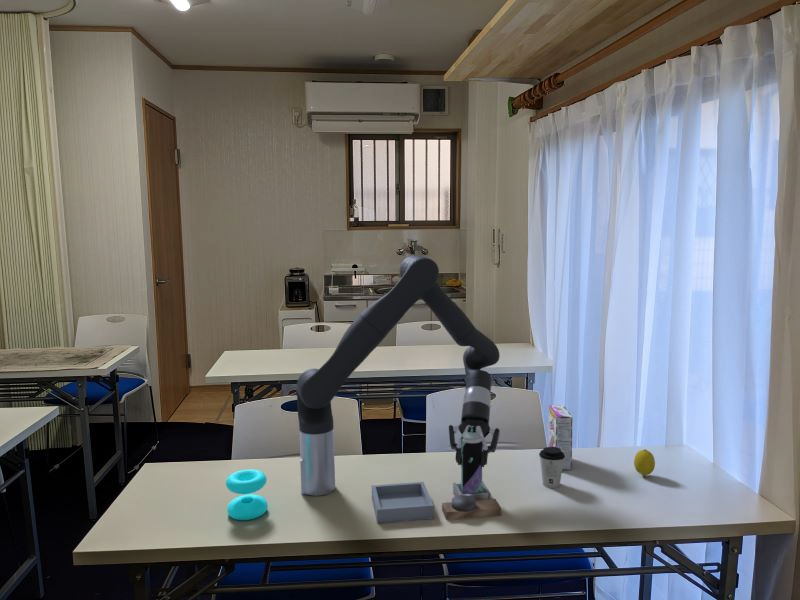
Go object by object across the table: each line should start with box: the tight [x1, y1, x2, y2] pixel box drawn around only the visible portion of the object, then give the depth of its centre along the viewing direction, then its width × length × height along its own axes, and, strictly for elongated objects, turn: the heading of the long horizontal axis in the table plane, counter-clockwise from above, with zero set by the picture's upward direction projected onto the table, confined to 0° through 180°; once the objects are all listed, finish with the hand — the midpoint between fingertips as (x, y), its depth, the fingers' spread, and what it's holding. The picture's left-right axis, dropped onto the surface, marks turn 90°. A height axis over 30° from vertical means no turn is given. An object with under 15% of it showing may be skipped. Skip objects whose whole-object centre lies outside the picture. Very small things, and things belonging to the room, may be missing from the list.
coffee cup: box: [538, 446, 565, 489], centre depth 174 cm, size 7×7×10 cm
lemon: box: [633, 448, 656, 477], centre depth 179 cm, size 6×6×8 cm
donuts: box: [225, 468, 269, 521], centre depth 160 cm, size 10×10×10 cm
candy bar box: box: [547, 404, 574, 471], centre depth 188 cm, size 11×5×16 cm, turn 179°
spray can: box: [460, 426, 483, 495], centre depth 165 cm, size 6×6×20 cm
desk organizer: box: [441, 480, 502, 521], centre depth 163 cm, size 14×15×4 cm
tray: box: [371, 481, 435, 524], centre depth 162 cm, size 14×14×4 cm
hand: (470, 464), depth 163 cm, fingers closed on spray can, 5 cm apart
